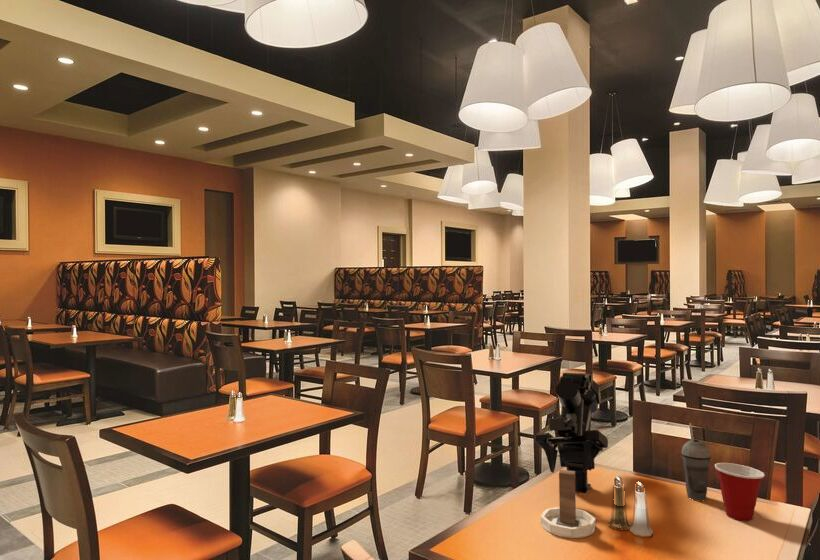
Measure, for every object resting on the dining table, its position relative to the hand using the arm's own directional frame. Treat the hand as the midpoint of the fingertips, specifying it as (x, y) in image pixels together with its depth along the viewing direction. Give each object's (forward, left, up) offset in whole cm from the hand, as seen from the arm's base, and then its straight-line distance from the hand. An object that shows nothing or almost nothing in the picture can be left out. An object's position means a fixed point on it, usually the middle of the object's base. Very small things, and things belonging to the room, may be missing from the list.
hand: (568, 472), depth 143 cm
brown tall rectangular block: (+10, +2, -9) cm, 13 cm away
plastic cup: (-16, +38, -10) cm, 43 cm away
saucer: (+10, +2, -10) cm, 14 cm away
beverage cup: (-24, +28, -10) cm, 39 cm away
